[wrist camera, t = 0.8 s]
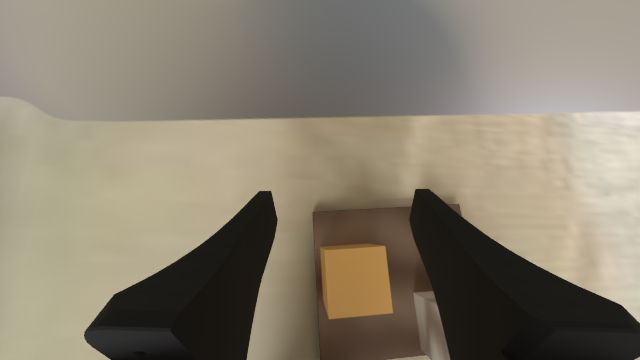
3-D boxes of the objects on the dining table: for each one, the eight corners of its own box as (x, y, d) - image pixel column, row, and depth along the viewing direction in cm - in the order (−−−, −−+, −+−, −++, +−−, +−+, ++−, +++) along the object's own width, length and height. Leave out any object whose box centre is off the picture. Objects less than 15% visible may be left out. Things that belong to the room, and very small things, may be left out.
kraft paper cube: (373, 296, 23) (393, 313, 18) (323, 300, 23) (328, 319, 18) (368, 243, 24) (385, 246, 19) (320, 246, 24) (324, 250, 19)
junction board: (478, 343, 24) (536, 379, 18) (320, 360, 22) (327, 406, 17) (453, 205, 27) (495, 197, 21) (312, 212, 25) (315, 206, 20)
